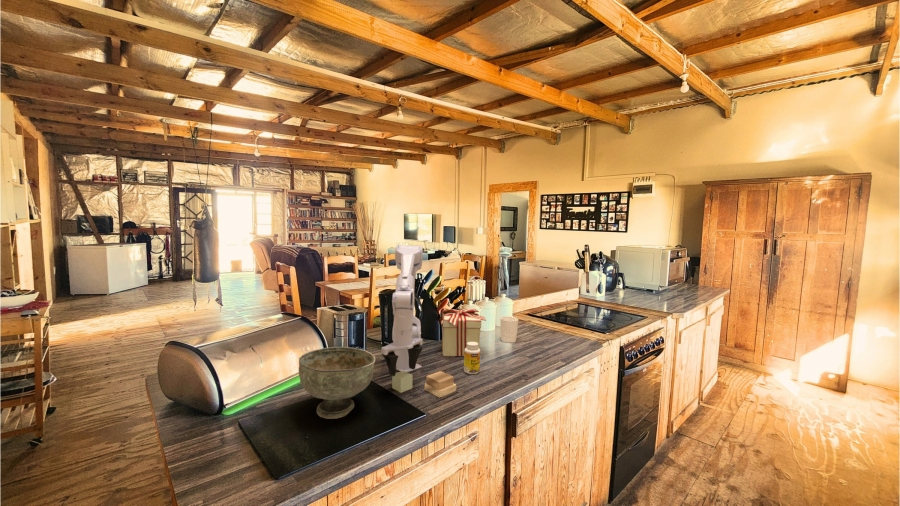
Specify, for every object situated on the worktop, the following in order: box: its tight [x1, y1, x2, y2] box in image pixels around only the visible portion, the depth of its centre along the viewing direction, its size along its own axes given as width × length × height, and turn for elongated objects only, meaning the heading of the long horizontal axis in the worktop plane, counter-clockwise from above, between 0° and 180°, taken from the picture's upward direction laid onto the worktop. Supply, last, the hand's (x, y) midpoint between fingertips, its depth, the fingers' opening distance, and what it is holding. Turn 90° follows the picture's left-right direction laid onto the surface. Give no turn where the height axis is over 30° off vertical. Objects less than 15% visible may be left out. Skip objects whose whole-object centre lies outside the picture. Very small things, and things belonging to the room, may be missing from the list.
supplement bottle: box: [463, 342, 481, 375], centre depth 130 cm, size 6×6×10 cm
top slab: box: [425, 370, 455, 390], centre depth 115 cm, size 6×6×2 cm
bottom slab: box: [424, 382, 457, 398], centre depth 115 cm, size 7×7×2 cm
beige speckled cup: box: [499, 315, 519, 344], centre depth 165 cm, size 8×8×10 cm
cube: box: [391, 371, 414, 394], centre depth 116 cm, size 4×4×4 cm
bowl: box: [298, 346, 376, 420], centre depth 102 cm, size 20×19×15 cm
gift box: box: [441, 308, 487, 357], centre depth 149 cm, size 17×18×17 cm
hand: (402, 371), depth 116 cm, fingers open, 7 cm apart
